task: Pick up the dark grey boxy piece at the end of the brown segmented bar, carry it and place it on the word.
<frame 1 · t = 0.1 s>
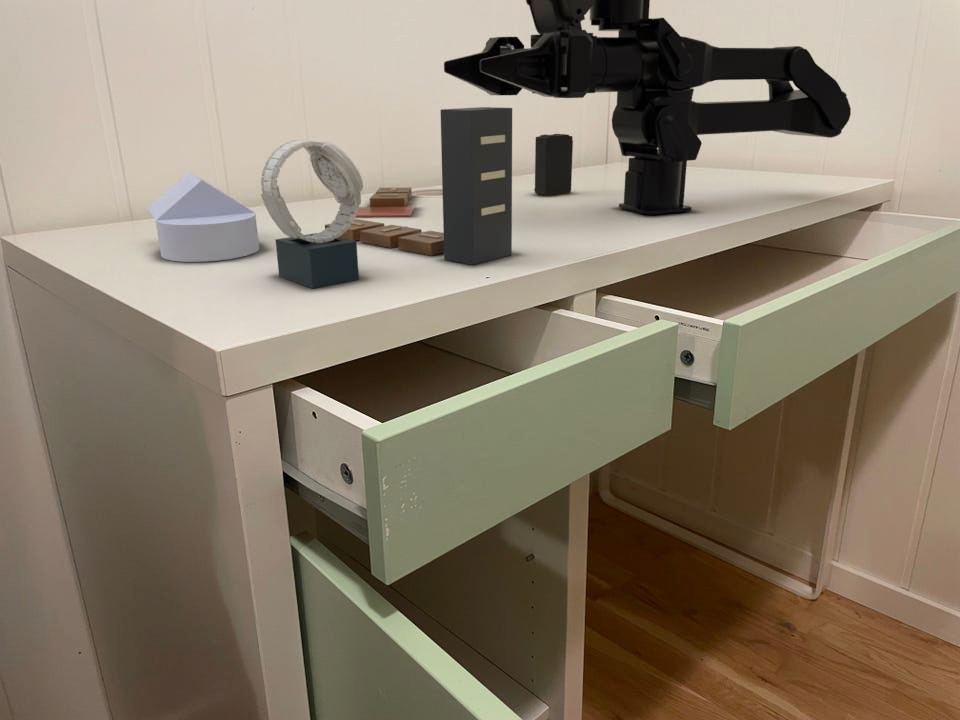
hand: (461, 66, 80), 17 cm above the table, tool horizontal, fingers open, 9 cm apart
watch: (319, 279, 65), on the table
dark grey boxy piece: (478, 257, 72), on the table
brown segmented bar: (391, 241, 79), on the table
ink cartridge: (552, 195, 109), on the table
lavender angled rounded piece: (207, 249, 77), on the table
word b: (391, 201, 104), on the table
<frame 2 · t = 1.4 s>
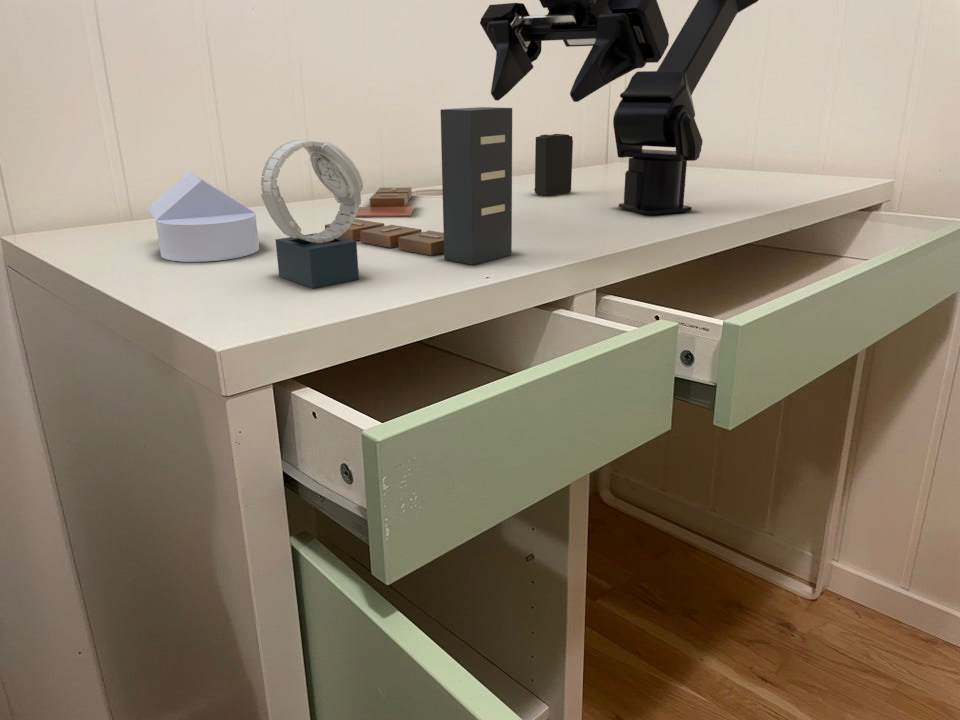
hand: (532, 97, 73), 14 cm above the table, tool tilted 45°, fingers open, 9 cm apart
nothing on the table moved.
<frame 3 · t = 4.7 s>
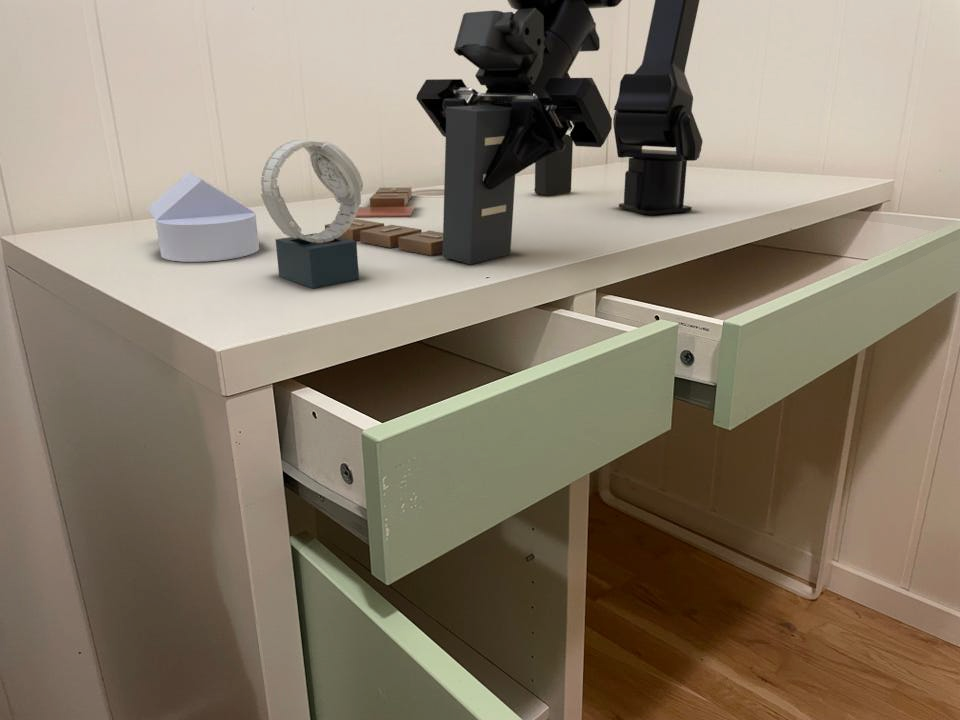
hand: (467, 184, 68), 7 cm above the table, tool tilted 45°, fingers closed on dark grey boxy piece, 4 cm apart
dark grey boxy piece: (476, 255, 72), on the table, touching gripper
everything else where it was.
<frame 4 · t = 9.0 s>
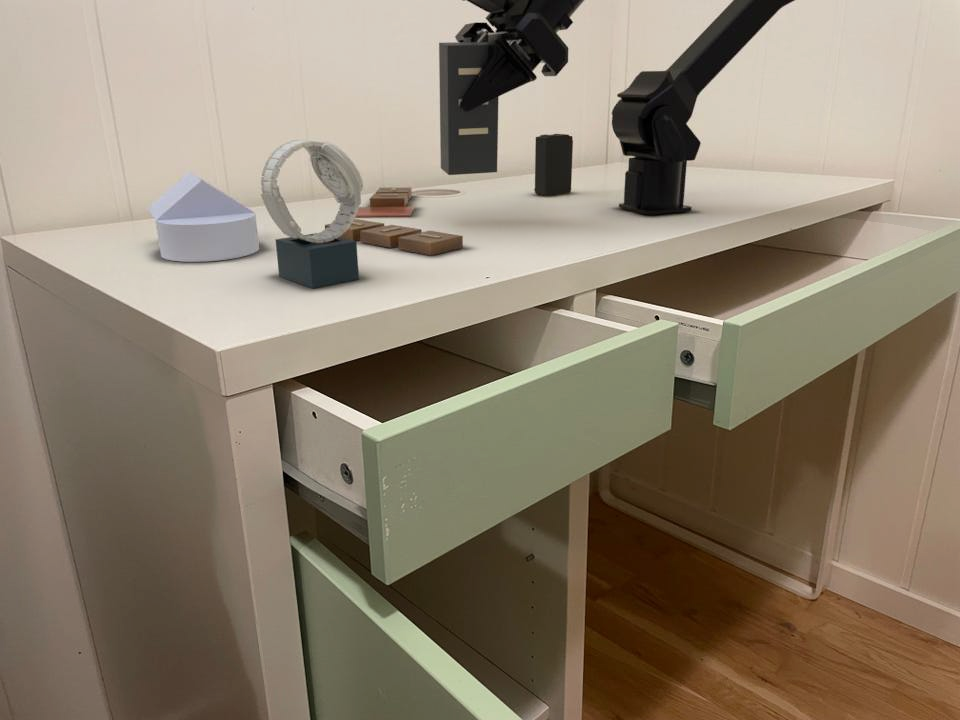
hand: (456, 107, 83), 12 cm above the table, tool tilted 45°, fingers closed on dark grey boxy piece, 4 cm apart
dark grey boxy piece: (468, 170, 86), point 6 cm above the table, tilted 6°, touching gripper
everything else where it was.
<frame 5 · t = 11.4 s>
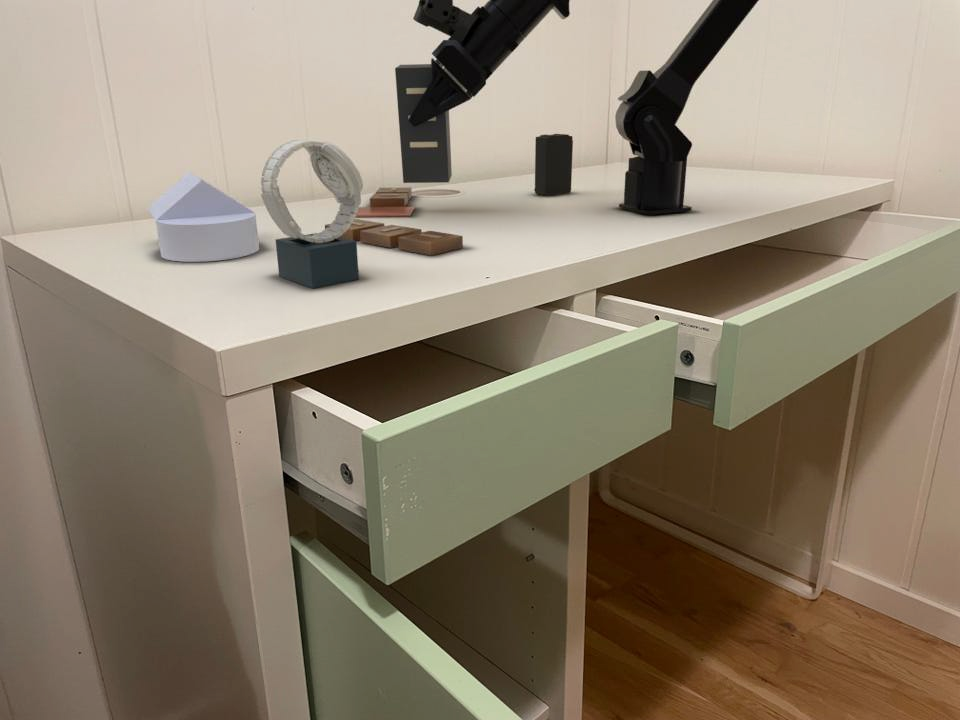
hand: (412, 122, 92), 10 cm above the table, tool tilted 45°, fingers closed on dark grey boxy piece, 4 cm apart
dark grey boxy piece: (427, 179, 95), point 4 cm above the table, tilted 6°, touching gripper
everything else where it was.
when the fingers open (7 cm above the table, at t = 13.5 s): dark grey boxy piece stays where it is, resting on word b.
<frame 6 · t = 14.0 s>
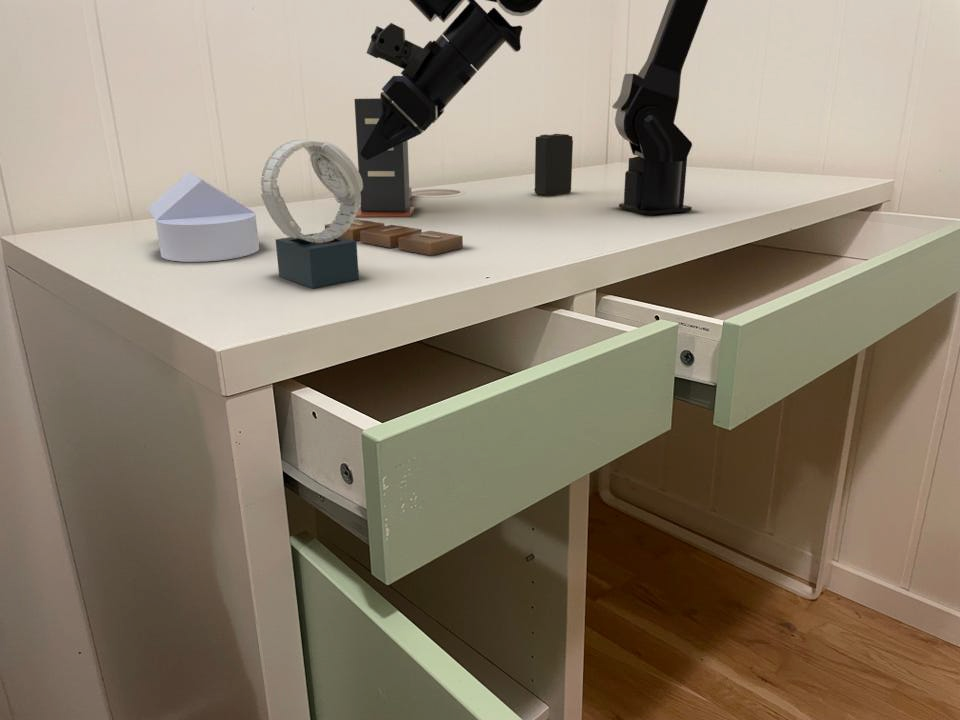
hand: (368, 153, 93), 7 cm above the table, tool tilted 45°, fingers open, 9 cm apart
dark grey boxy piece: (385, 209, 96), resting on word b
everything else where it was.
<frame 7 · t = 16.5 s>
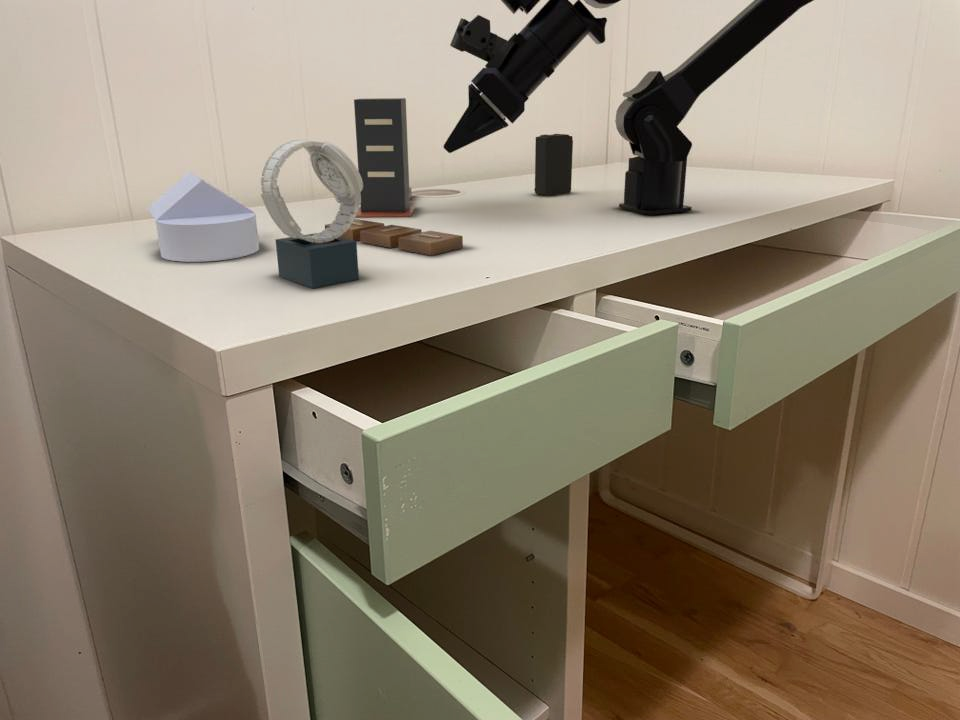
hand: (448, 146, 93), 8 cm above the table, tool tilted 45°, fingers open, 9 cm apart
nothing on the table moved.
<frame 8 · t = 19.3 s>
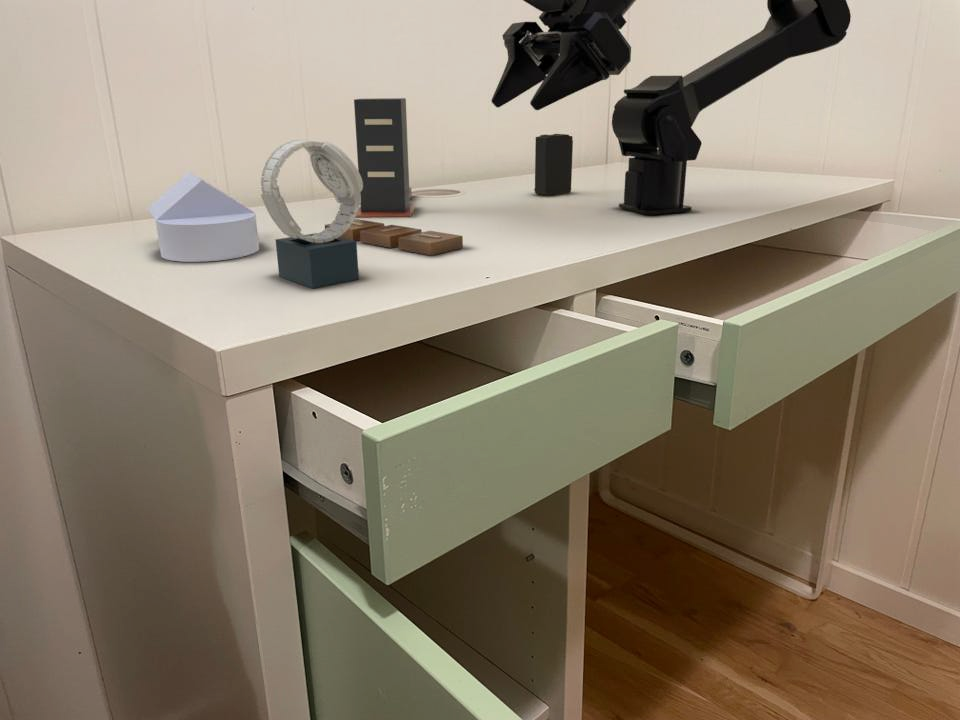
hand: (512, 105, 83), 13 cm above the table, tool tilted 45°, fingers open, 9 cm apart
nothing on the table moved.
at the end: dark grey boxy piece 0.8 cm from the target spot on the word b, point 0.2 cm above the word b's base; dark grey boxy piece tilted 0°; the gripper is holding nothing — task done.
